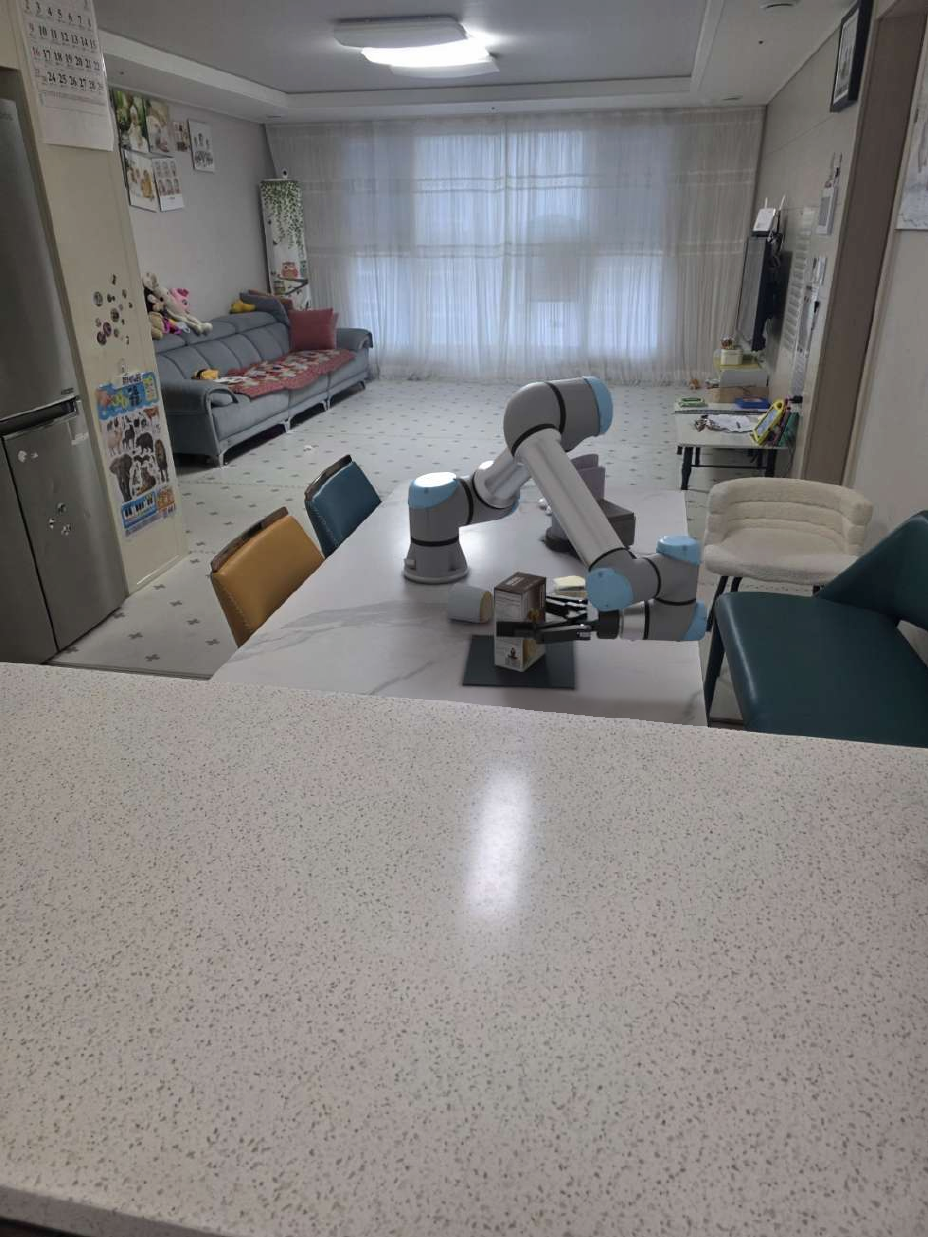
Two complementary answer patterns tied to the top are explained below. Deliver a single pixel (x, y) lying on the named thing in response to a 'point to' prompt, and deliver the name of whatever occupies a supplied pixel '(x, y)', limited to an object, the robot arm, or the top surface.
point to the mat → (543, 673)
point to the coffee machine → (615, 514)
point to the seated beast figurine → (545, 504)
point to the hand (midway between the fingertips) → (498, 616)
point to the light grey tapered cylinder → (469, 603)
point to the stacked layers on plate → (571, 587)
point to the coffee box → (519, 618)
